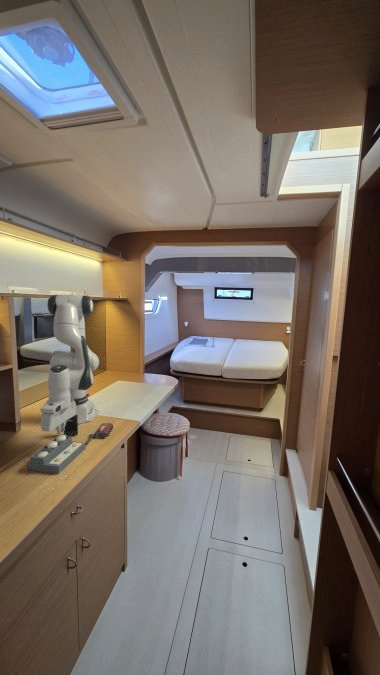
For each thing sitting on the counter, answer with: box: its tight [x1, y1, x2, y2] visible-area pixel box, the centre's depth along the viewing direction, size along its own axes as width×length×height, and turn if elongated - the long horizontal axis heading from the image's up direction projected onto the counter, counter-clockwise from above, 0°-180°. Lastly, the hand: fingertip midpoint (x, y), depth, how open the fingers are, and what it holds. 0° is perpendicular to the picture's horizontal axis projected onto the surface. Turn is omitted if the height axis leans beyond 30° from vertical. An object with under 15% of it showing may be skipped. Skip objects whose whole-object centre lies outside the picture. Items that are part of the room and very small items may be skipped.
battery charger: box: [63, 413, 79, 437], centre depth 136 cm, size 7×4×11 cm, turn 99°
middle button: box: [46, 440, 58, 450], centre depth 116 cm, size 4×4×2 cm
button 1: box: [37, 451, 48, 457], centre depth 110 cm, size 4×4×2 cm
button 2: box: [55, 434, 66, 443], centre depth 122 cm, size 4×4×2 cm
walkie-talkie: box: [85, 422, 114, 445], centre depth 137 cm, size 9×4×20 cm
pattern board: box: [26, 436, 86, 475], centre depth 116 cm, size 19×14×6 cm
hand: (60, 432), depth 121 cm, fingers closed
